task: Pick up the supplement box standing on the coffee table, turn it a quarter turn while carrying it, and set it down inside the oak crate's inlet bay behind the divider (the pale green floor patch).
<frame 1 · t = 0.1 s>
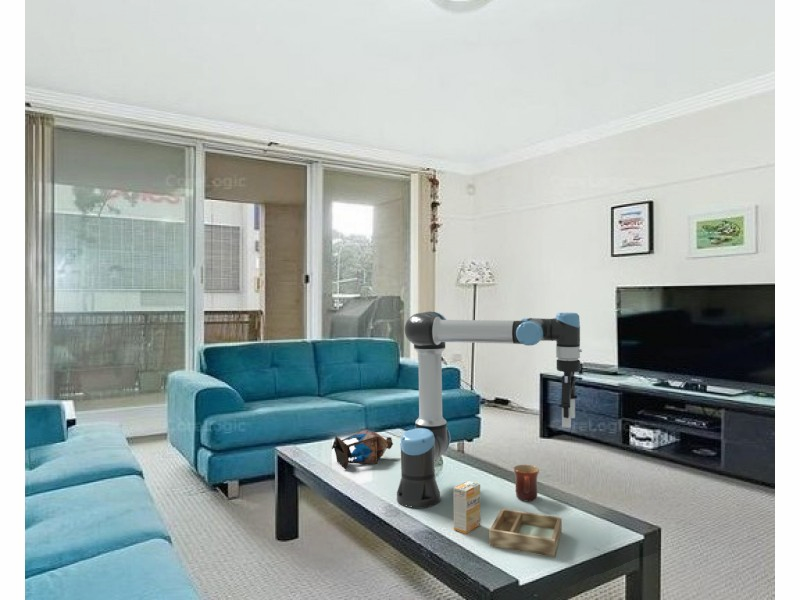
hand: (568, 422, 180), 28 cm above the table, fingers open, 13 cm apart
mug: (526, 500, 185), on the table
crate: (526, 538, 157), on the table
lantern: (365, 462, 229), on the table
supplement box: (467, 528, 165), on the table
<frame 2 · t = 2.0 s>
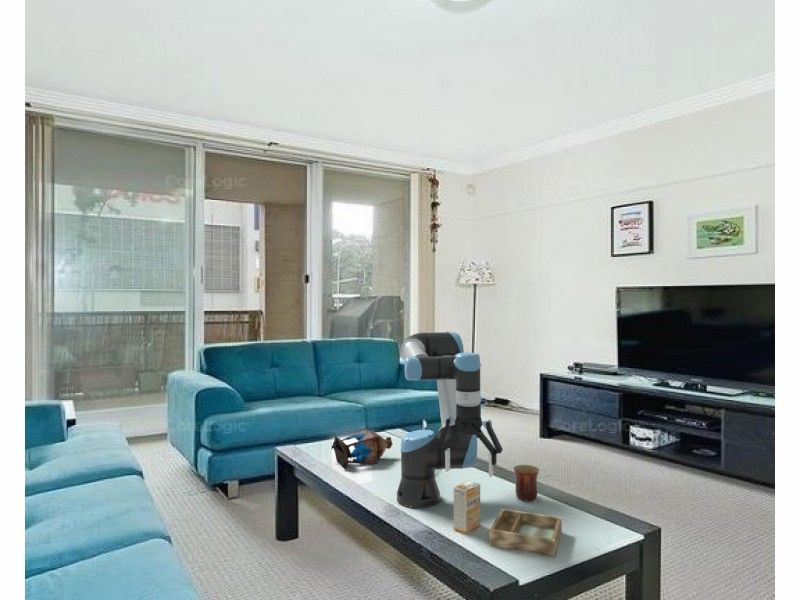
hand: (469, 472, 165), 17 cm above the table, fingers open, 13 cm apart
nothing on the table moved.
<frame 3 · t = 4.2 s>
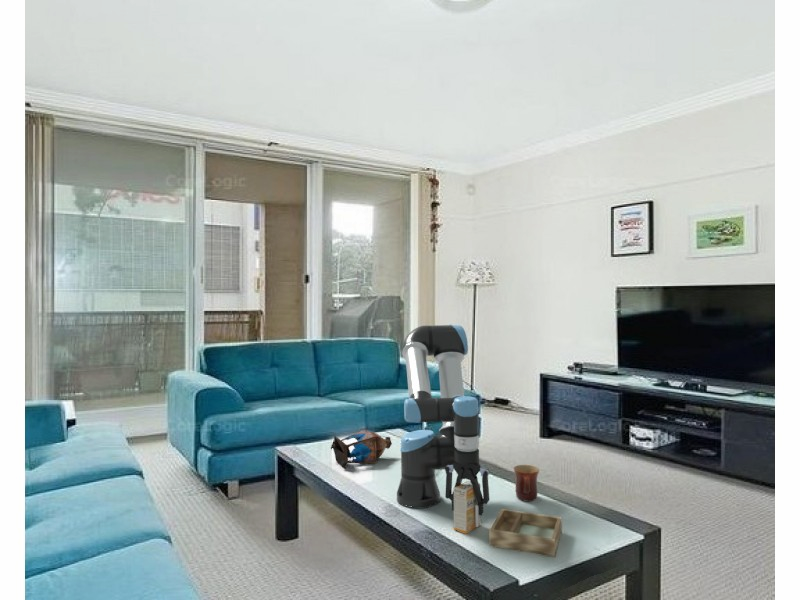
hand: (467, 523, 165), 1 cm above the table, fingers closed on supplement box, 6 cm apart
supplement box: (467, 528, 165), on the table, touching gripper
everything else where it was.
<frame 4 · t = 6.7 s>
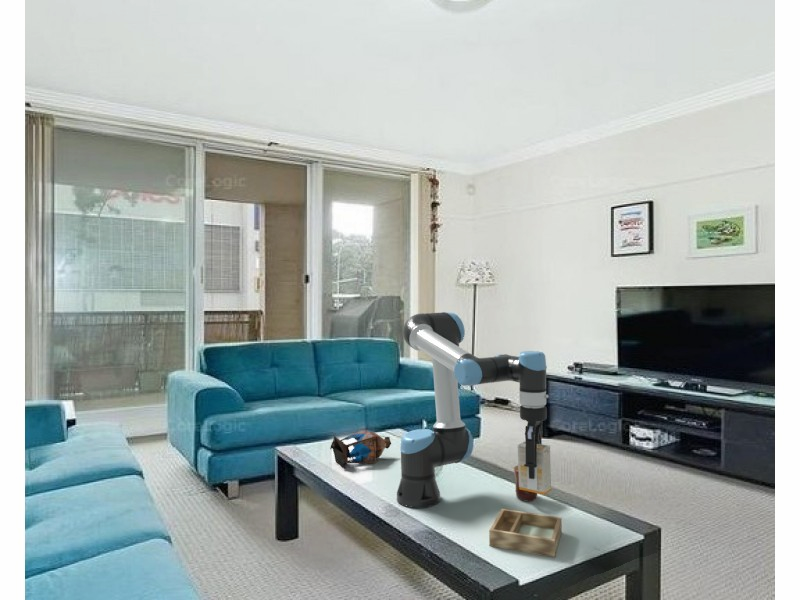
hand: (534, 485, 155), 16 cm above the table, fingers closed on supplement box, 6 cm apart
supplement box: (535, 490, 155), point 15 cm above the table, touching gripper
everything else where it was.
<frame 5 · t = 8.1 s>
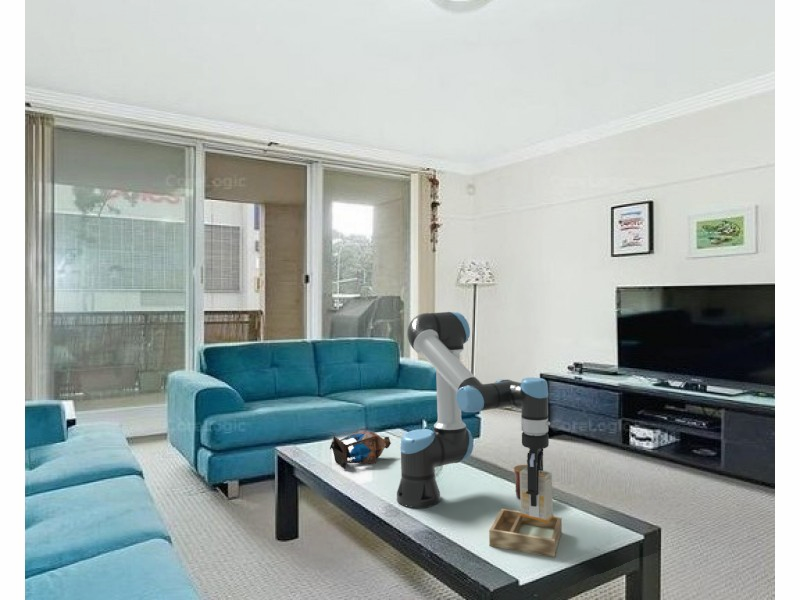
hand: (536, 511, 155), 8 cm above the table, fingers closed on supplement box, 6 cm apart
supplement box: (536, 517, 155), point 7 cm above the table, touching gripper
everything else where it was.
when the fingers open (4 cm above the table, at t = 9.2 s): supplement box drops 2 cm, resting on crate.
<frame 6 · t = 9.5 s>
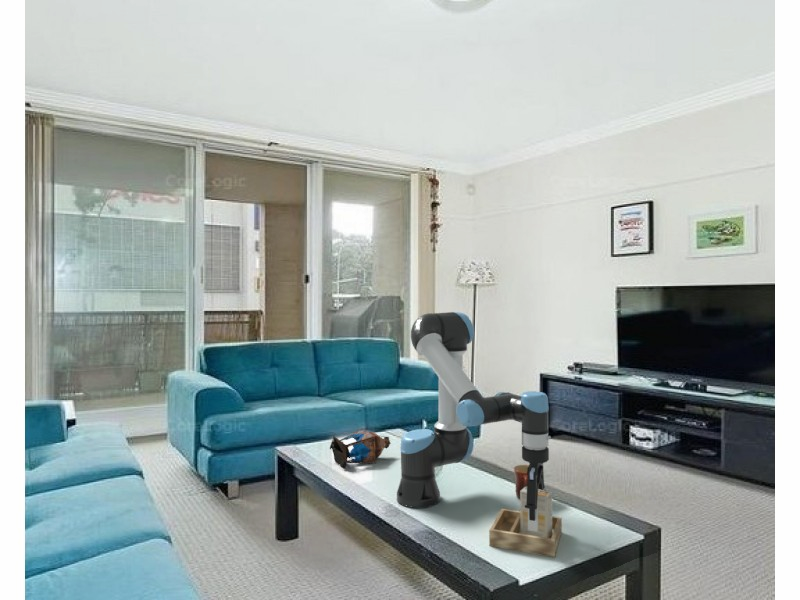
hand: (536, 522, 156), 5 cm above the table, fingers open, 10 cm apart
supplement box: (536, 536, 156), point 1 cm above the table, touching crate
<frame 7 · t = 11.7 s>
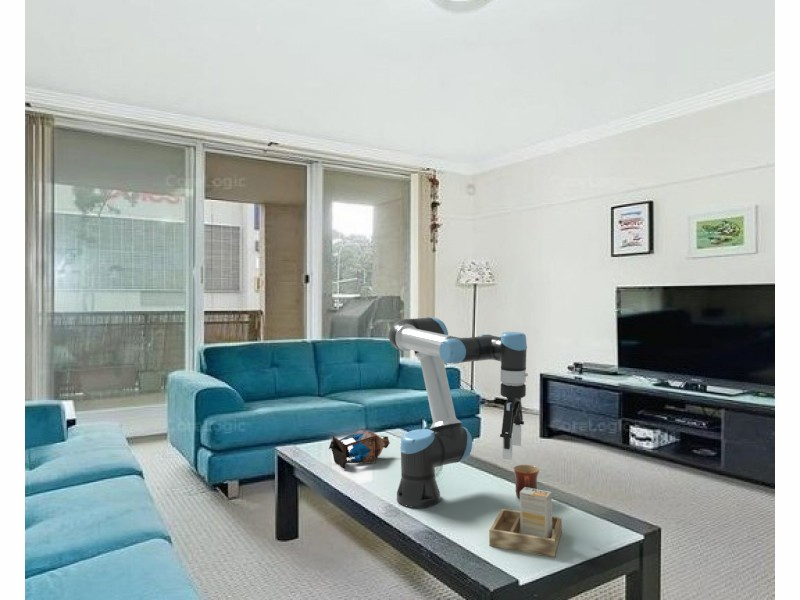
hand: (512, 451, 165), 23 cm above the table, fingers open, 13 cm apart
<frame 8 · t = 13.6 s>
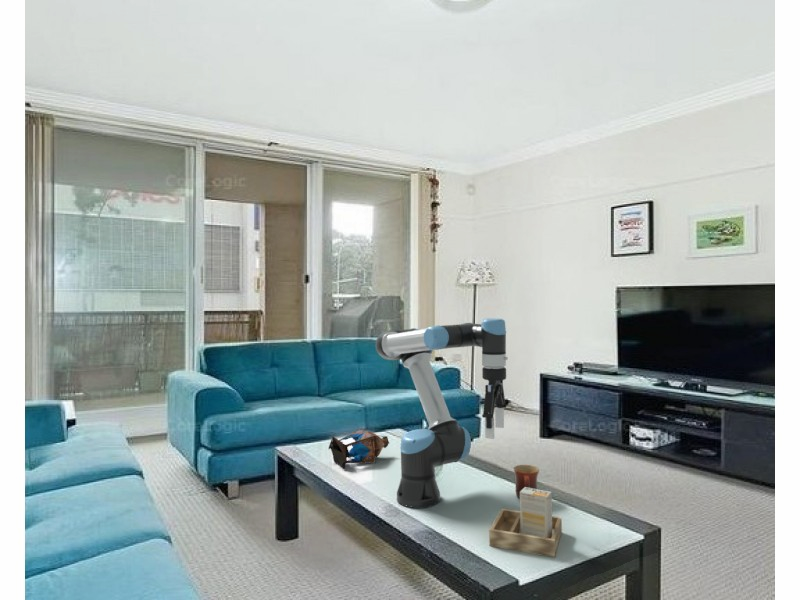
hand: (494, 432, 173), 27 cm above the table, fingers open, 13 cm apart
at the end: supplement box inside the target area on the crate (0.2 cm from its centre), point 1.0 cm above the crate's base; supplement box tilted 0°; the gripper is holding nothing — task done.
